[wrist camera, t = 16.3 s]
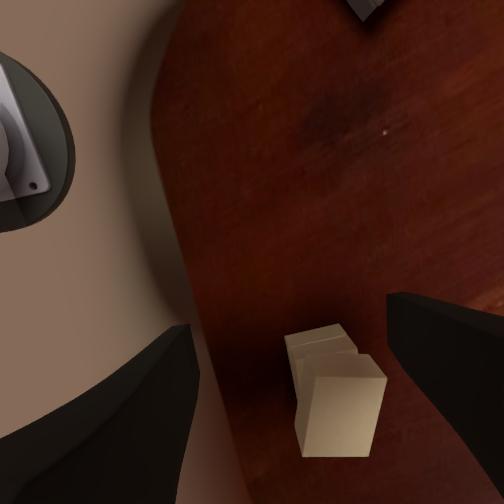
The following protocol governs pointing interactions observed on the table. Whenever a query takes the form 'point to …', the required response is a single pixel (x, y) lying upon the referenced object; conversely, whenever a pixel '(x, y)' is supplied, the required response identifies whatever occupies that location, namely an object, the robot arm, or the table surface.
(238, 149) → the table surface
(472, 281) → the table surface
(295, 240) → the table surface
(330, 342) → the cream seamed block
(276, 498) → the table surface
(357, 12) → the grey box
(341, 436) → the cream rectangular block
